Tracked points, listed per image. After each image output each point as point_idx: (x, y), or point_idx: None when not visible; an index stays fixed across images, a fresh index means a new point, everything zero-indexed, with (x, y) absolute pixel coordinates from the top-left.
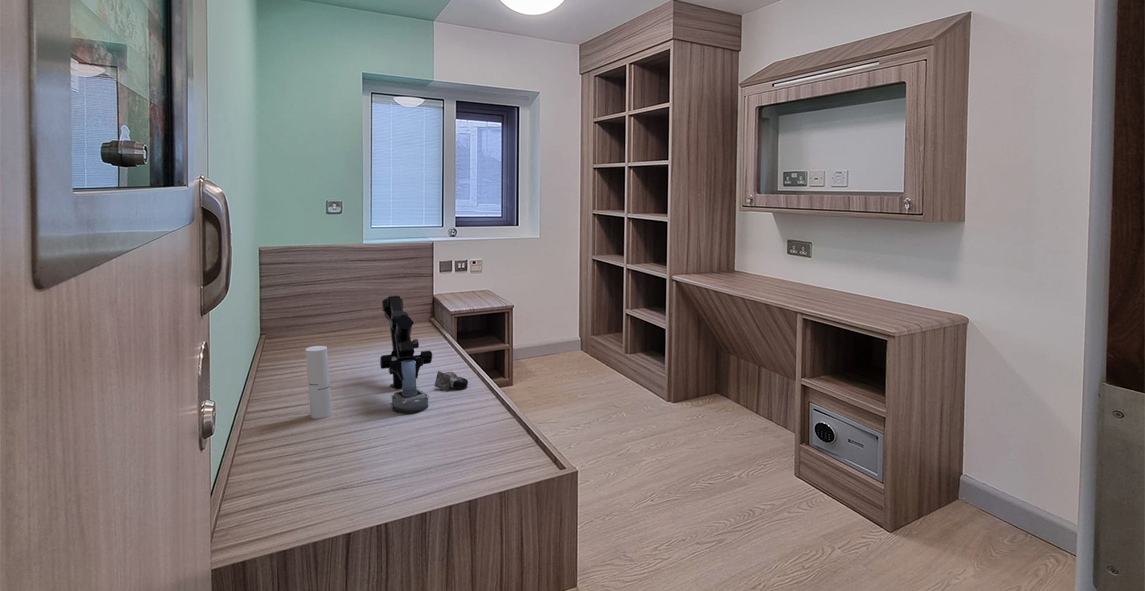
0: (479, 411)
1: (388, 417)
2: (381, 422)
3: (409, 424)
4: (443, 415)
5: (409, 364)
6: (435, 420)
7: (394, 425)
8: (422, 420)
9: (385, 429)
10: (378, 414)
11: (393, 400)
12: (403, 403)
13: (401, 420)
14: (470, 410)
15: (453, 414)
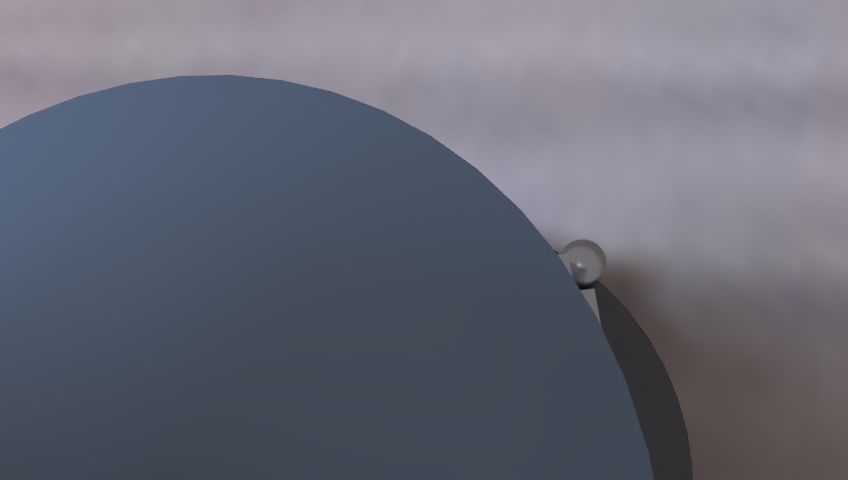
0: (24, 18)
1: (746, 293)
2: (841, 198)
3: (600, 29)
4: (278, 75)
5: (278, 108)
6: (381, 9)
7: (731, 68)
8: (472, 58)
9: (828, 22)
10: (843, 454)
11: (679, 467)
12: (590, 247)
13: (641, 147)
14: (57, 68)
15: (204, 56)
